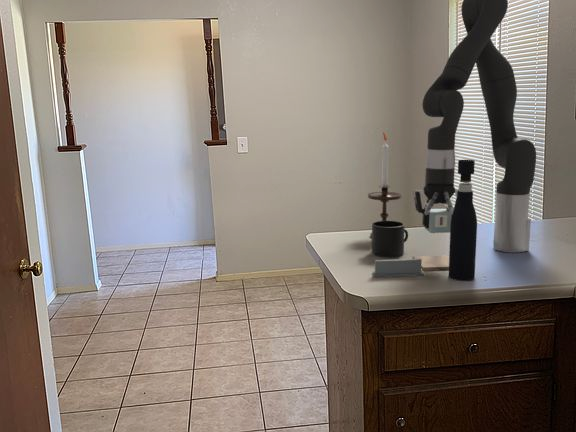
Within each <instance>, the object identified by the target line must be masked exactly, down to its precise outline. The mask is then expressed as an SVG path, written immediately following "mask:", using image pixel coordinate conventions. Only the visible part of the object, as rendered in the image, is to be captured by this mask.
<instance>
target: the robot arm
mask: <svg viewBox="0 0 576 432" xmlns="http://www.w3.org/2000/svg"><path fill="white" fill-rule="evenodd" d="M508 3H509V1H508V0H462V3H461V18H462V22H463V25H464V28H465V31H466V35H465V36H464V38H462V40H461V41H459V43H458V44H457V45H456V47H455V48H454V49H453V50H452V52H451V53H450V55H449V57H448V58H447V61H446V63H445V65H444V67H443V70H442V72H441V73H440V75H439V76H438V77H437V78H436V80H435V81H434V82H433V84H431V86H430V87H429V88H428V90H427V91H426V92H425V94H424V96H423V99H422V104H421V105H422V111H423V112H424V114H425V115H426V116H427V117H431V118H443V119H442V121H441V123H440V124H439V125H435V126H433V127H430V128H428V129H429V130H428V132H427V150H426V151H427V152H426V156H425V157H426V158H425V175H424V177H425V181H424V187H423V188H422V189H419V190H418V189H415V190H413V191H412V195H413V200H414V206H415V211H416V212H418V213H419V214H422V226H423V227H424V229H425V228H429V212H430V210H431V209H433V206H434V205H437V204H444V206H445V209H447V210H448V211H450V212H451V213H452V214H453V211H454V208H455V206H456V203H457V192H458V191H459V189H457V188H455V168H456V167H455V166H456V154H455V153H456V152H455V151H456V150H455V146H456V145H455V144H456V134H457V129H458V126H459V123H460V121H461V117H462V115H463V111H464V107H465V106H464V104H465V101H464V97H463V94H462V93H461V92H460V91H459V90H462V89H464V87H466V85H467V83H468V82H469V80H470V77H471V75H472V72H473V69H474V67H475V66H476V69H477V74H478V79H479V85H480V88H481V93H482V97H483V100H484V105H485V110H486V115H487V118H488V123H489V127H490V137H491V145H492V146H491V147H492V154H493V158H494V161H495V162H496V164H497V165H498V166H499V167H501V168H503V169H504V176H503V179H502V180H501V181H499V182H497V184H496V192H495V193H496V194H495V209H494V210H495V213H494V231H493V244H492V245H493V250H496V251H498V252H502V253H504V252H505V253H512V254H513V253H523V252H527V251H528V252H529V251H530V240H531V239H530V236H531V226H532V225H531V224H532V220H531V219H530V218H529V209H530V195H531V194H530V193H531V188H532V186H533V184H534V180H535V173H536V163H537V151H536V147H535V145H534V144H533V143H534V142H532V141H531V140H529V139H526V138H519V137H518V135H517V132H516V131H517V130H516V127H515V122H514V113H515V107H516V102H517V97H518V88H517V82H516V79H515V78H516V77H515V73H514V69H513V66H512V65H511V63H510V62H509V60H508V59H507V58H506V57H505V56H504V55H503V54H502V53H501V51H499V49H498V48H497V47H496V46H495V44H494V43H493V41H492V37H493V34H494V33H495V31H496V30H497V29H498V28H499V25H501V22H502V21H503V20H504V18H505V16H506V14H507V11H508V7H509V6H508V5H509V4H508ZM424 195H425V197H426V200H425V203H424V206H422V205H423V204H422V198H423V196H424ZM453 195H454V196H455V197H456V198H455V202H454V206H453V203H452V200H451V198H452V197H453ZM452 214H451V218H452Z"/></svg>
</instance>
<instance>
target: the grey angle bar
mask: <svg viewBox="0 0 576 432" xmlns="http://www.w3.org/2000/svg"><path fill="white" fill-rule="evenodd" d="M421 263H422V260H421V259H413V258H406V259H405V258H401V259H398V258H397V259H375V260H374V271H372V275H374V276H373V277H374V278H390V277H391V278H393V277H394V276H395V277H420V276H421V277H423V276H425V273H424V272H423V270H422V269H421ZM392 276H393V277H392Z"/></svg>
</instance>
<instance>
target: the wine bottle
mask: <svg viewBox="0 0 576 432" xmlns="http://www.w3.org/2000/svg"><path fill="white" fill-rule="evenodd" d="M475 162H476V161H475V160H474V159H459V160H458V161H457V163H458V164H457V174H459V175H460V179H459V182H460V183H458V189H457V190H459V191H458V192H457V203H456V206H455V205H454V206H455V208H454V207H453V208H454V211H453V214H452V218H451V225H450V233H449V254H448V255H449V270H448V277H449V278H450V279H451V280H455V281H461V282H465V281H466V282H467V281H472V280H474V279H475V276H476V258H477V257H476V256H477V255H476V254H477V253H476V252H477V234H478V233H477V231H478V219H477V214H476V209H475V206H474V202H473V201H474V199H473V198H474V191H473V183H471V182H472V175H474V174H475V164H476V163H475Z"/></svg>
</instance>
